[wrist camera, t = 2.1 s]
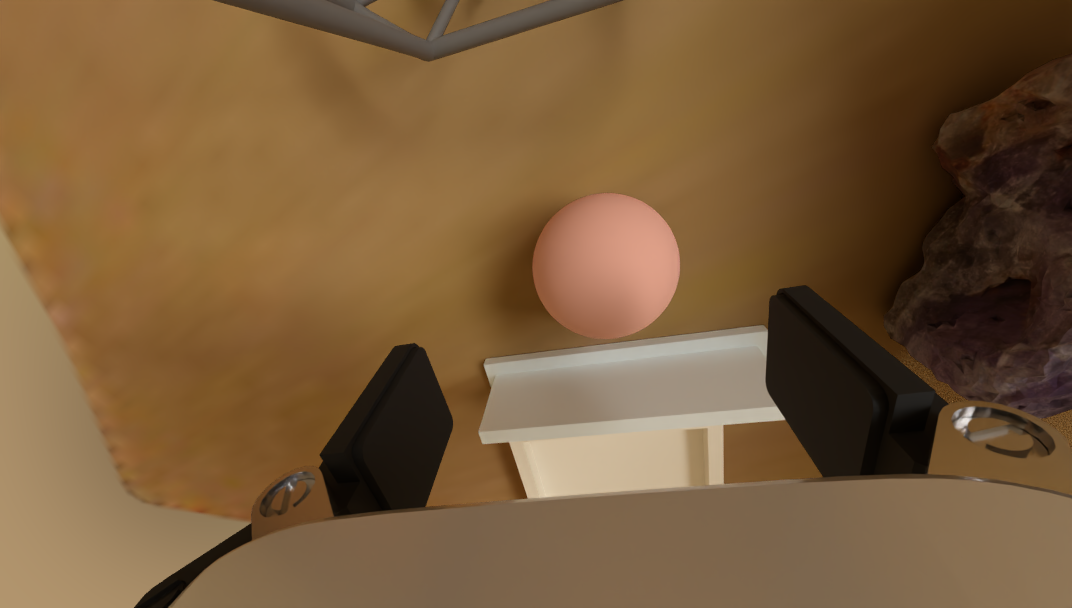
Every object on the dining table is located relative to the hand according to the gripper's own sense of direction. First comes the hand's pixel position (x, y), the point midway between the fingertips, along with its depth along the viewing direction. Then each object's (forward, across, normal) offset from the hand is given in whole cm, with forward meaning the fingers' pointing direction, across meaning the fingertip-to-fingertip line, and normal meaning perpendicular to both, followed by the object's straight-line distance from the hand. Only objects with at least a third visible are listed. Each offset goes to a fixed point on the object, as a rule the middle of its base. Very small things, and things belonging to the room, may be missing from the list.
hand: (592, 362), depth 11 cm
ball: (+10, -1, 0) cm, 10 cm away
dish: (+10, 0, +16) cm, 19 cm away
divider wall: (+10, -1, +7) cm, 12 cm away
